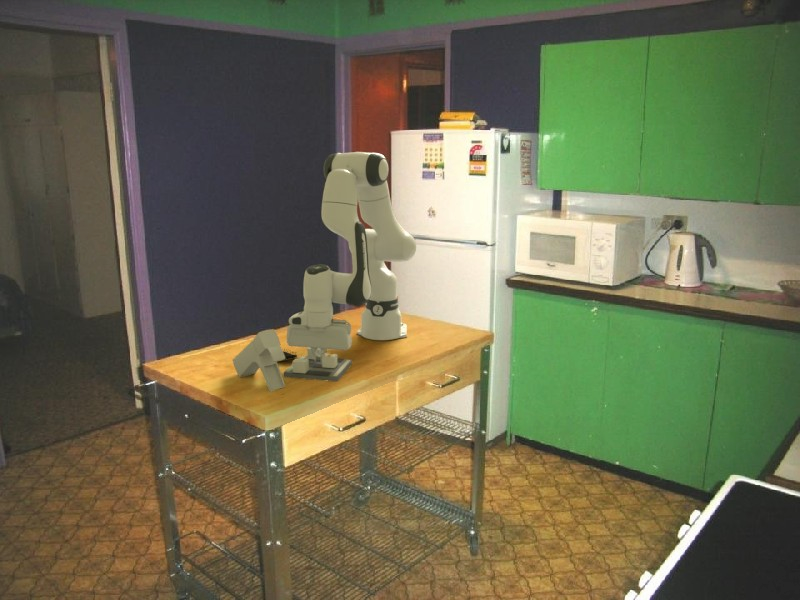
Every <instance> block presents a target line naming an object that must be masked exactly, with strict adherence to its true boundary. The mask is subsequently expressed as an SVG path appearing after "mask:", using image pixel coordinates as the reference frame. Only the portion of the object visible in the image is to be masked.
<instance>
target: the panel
mask: <svg viewBox="0 0 800 600" xmlns="http://www.w3.org/2000/svg"><path fill="white" fill-rule="evenodd" d="M299 359H307V356H306V355H305V356H304V355H301V356H300V357H299ZM352 365H353V359H345V358H341V357H340V358H338V357H337V366H336V367H335V368H325V367H322V362H318V361H315V360H314V359H309V370H308V371H307V372H306V373H294V372H293V363H292V364H291V365H290V366H289V367H288V368H286V369H285V371H283V378H291V379H302V378H305V380H314V379H316V380H315V381H325V380H328V381H327V382H336V381H337V382H339V380H341V379H342V377H343V376H344V374H345V373H346V372H347V371H348V370H349V367H350V368H351V366H352ZM342 375H343V376H342Z"/></svg>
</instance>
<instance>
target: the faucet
mask: <svg viewBox="0 0 800 600" xmlns="http://www.w3.org/2000/svg"><path fill="white" fill-rule="evenodd" d="M282 349H283V348H282V347H281V341H280V338H279V336H278V333H277V332H276V330H275V329H274V328H272V329H271V328H270V329H265V330H262V331H259V332H258V333H257V334H256V336H254V338H253V340H251V342H249V344H247V346H246V347H244V348H243V349H242V350H241V351H240V352H239V353H238V354H237V355H236V356H235V357H234V358H233V359H232V364H233V366H234V369H235V371H236V373H237V375H238V377H239V378H240V377H247V376H250V375H253V374H255V373H257V372H258V370H259V369H260V372H261V373H262V376H263V378H264V381H265V383H266V385H267V388H268V391H270V392H274V391H276V390H277V391H278V390H280V388H281V389H283V388H285V387H286V384H285V382H284V381H285V380H284V376H283V375H282V374H283V373H282V372H281V369H280V367H279V366H280V365H279V363H278V362H280V360H282V361H285V360H284V359H285V355H284V353H283V351H284V350H282ZM273 390H274V391H273Z"/></svg>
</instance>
